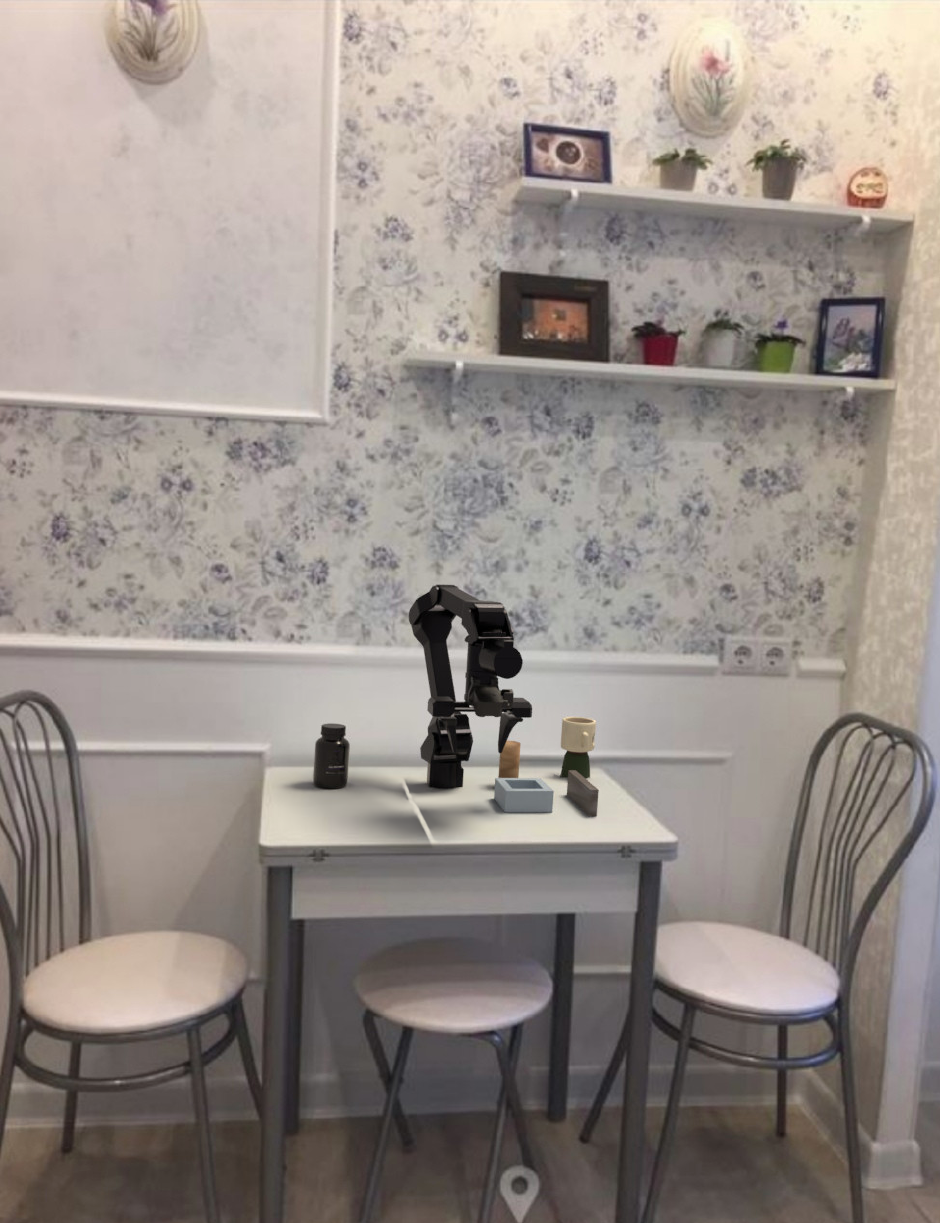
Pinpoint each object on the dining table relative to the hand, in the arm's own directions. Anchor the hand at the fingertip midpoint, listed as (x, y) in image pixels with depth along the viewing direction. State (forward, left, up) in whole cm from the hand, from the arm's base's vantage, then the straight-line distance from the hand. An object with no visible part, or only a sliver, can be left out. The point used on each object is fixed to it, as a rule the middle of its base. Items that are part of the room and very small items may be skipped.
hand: (477, 752), depth 191 cm
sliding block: (+9, 0, -10) cm, 14 cm away
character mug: (+27, +22, -11) cm, 36 cm away
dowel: (+10, +13, -11) cm, 19 cm away
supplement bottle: (-25, +18, -11) cm, 33 cm away
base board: (+13, 0, -11) cm, 17 cm away
